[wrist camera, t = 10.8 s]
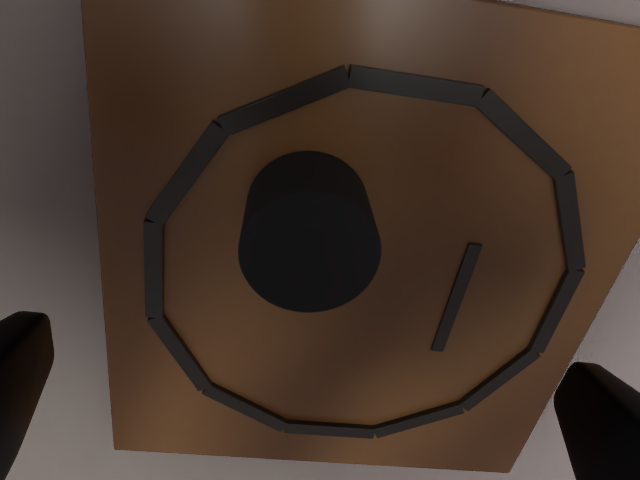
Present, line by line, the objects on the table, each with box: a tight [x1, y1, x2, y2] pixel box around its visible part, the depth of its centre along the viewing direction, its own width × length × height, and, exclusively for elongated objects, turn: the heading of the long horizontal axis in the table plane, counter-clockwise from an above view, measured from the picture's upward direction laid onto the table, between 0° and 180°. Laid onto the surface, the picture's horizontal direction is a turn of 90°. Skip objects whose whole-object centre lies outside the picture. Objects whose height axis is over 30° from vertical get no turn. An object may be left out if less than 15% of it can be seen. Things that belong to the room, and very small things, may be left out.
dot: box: [238, 151, 382, 313], centre depth 12 cm, size 3×3×2 cm
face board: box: [81, 0, 640, 473], centre depth 15 cm, size 15×16×1 cm
